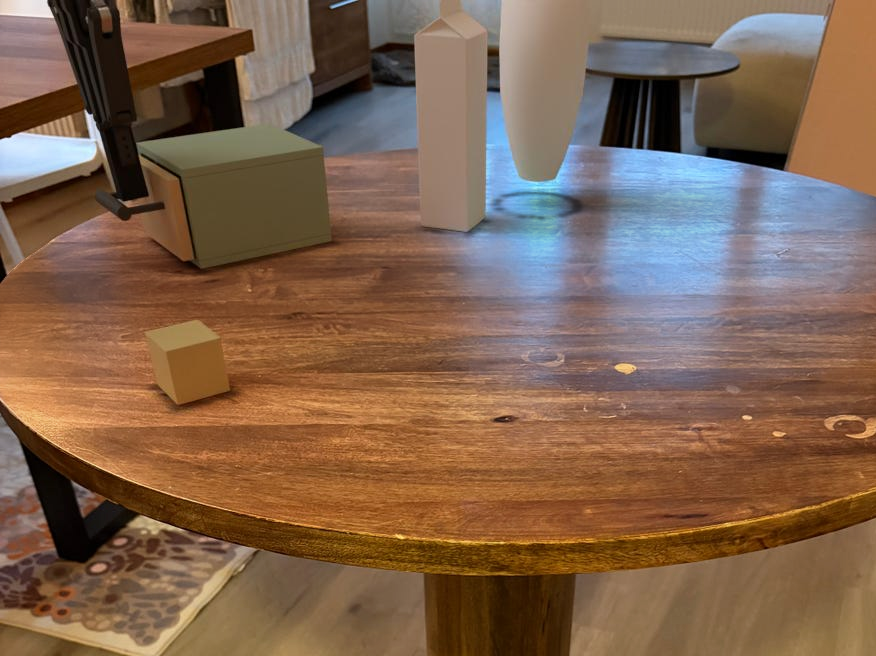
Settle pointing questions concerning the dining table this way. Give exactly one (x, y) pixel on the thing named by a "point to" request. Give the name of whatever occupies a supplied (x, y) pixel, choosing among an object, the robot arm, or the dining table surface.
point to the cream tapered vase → (542, 80)
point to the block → (188, 361)
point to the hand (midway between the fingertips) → (133, 197)
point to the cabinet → (248, 191)
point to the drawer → (158, 209)
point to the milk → (451, 119)
